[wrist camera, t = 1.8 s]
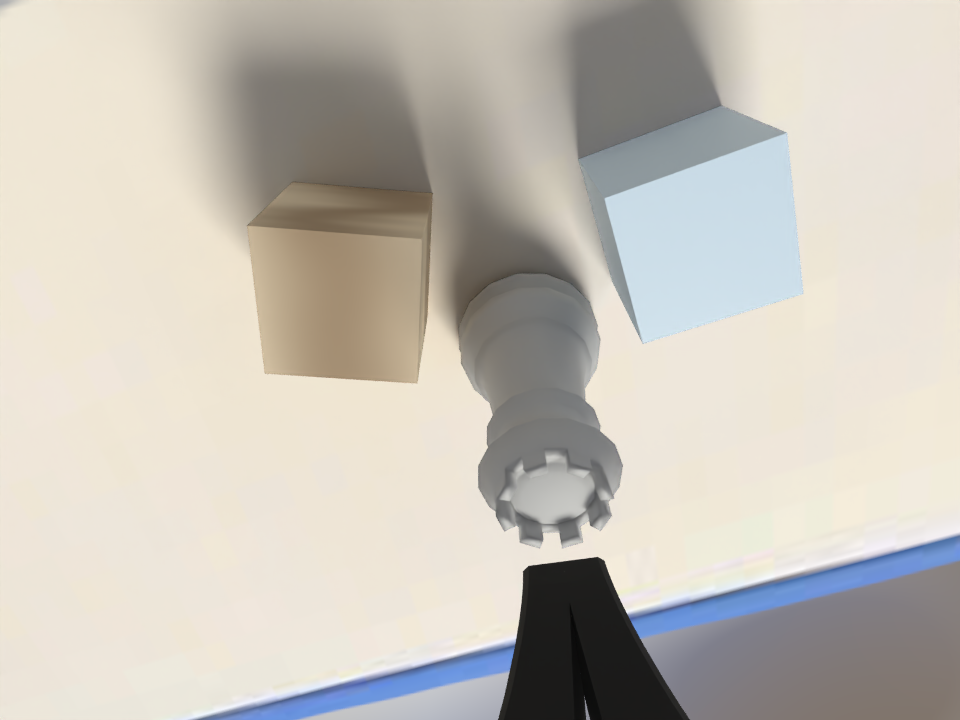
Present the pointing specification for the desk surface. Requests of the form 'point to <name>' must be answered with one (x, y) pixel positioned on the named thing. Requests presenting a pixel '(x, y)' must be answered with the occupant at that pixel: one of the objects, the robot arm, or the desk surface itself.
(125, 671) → the desk surface
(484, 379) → the rook chess piece
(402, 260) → the beech block
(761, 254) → the pale blue block
